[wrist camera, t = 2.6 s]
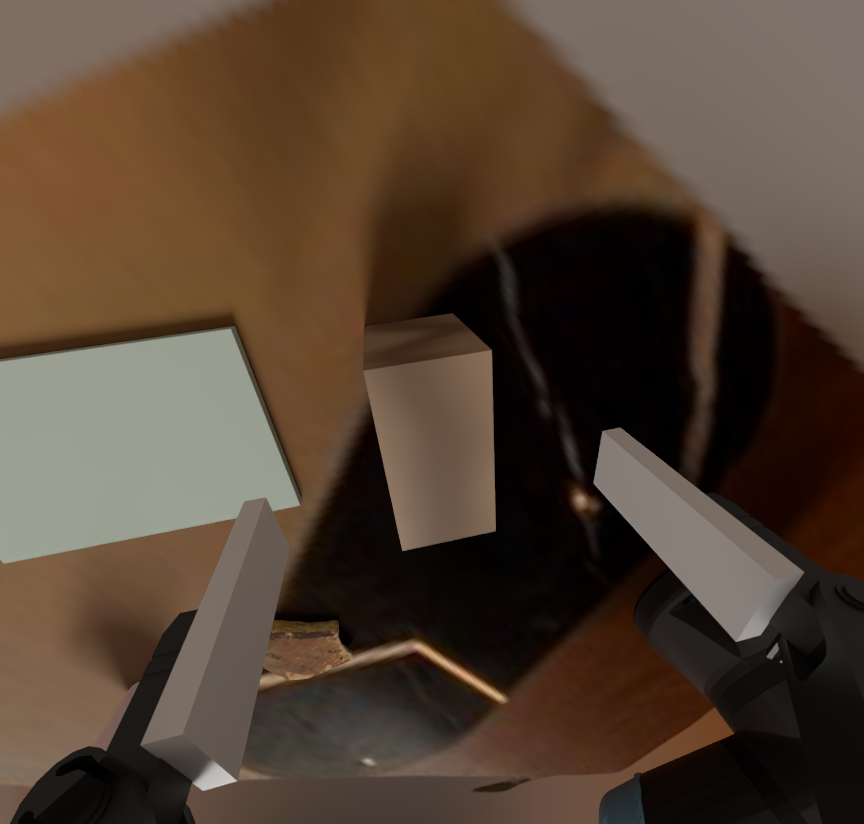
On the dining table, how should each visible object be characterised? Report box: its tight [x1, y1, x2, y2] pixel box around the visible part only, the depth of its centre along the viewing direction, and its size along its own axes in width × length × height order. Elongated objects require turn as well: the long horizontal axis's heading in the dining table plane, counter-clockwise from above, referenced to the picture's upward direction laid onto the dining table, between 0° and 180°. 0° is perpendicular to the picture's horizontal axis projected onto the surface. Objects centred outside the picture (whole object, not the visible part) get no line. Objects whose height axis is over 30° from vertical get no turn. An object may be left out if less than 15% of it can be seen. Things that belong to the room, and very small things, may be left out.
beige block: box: [363, 313, 496, 551], centre depth 18 cm, size 5×10×7 cm, turn 6°
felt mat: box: [0, 326, 302, 563], centre depth 19 cm, size 18×12×1 cm, turn 96°
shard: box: [263, 620, 353, 681], centre depth 29 cm, size 11×8×2 cm
